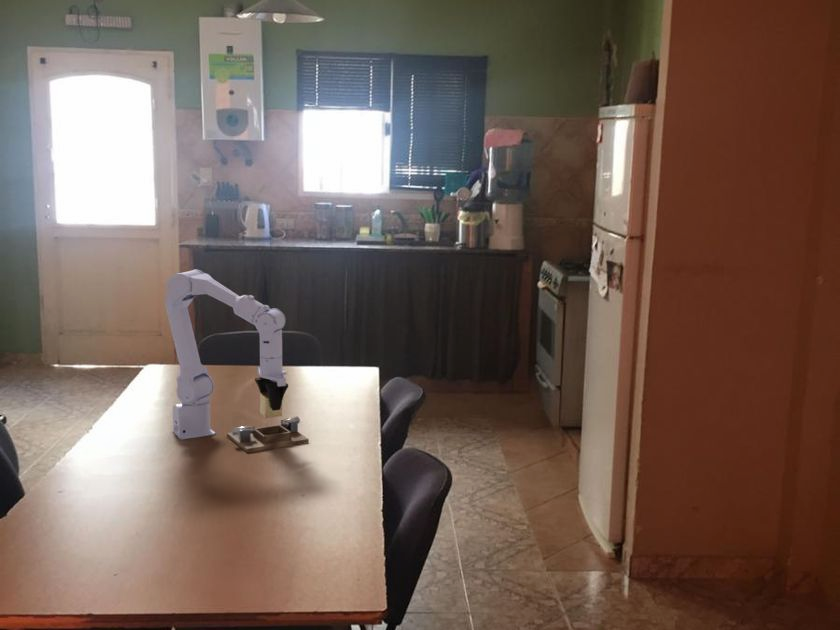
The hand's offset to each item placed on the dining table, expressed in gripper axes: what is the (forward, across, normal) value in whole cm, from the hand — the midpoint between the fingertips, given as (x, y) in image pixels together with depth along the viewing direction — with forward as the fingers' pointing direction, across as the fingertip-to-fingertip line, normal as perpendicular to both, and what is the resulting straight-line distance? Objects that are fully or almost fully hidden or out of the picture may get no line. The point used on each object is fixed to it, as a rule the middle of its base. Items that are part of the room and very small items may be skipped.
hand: (271, 407), depth 228 cm
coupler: (+2, 0, 0) cm, 2 cm away
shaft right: (+8, +3, -7) cm, 11 cm away
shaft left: (+8, +2, +7) cm, 11 cm away
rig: (+9, +2, 0) cm, 10 cm away
